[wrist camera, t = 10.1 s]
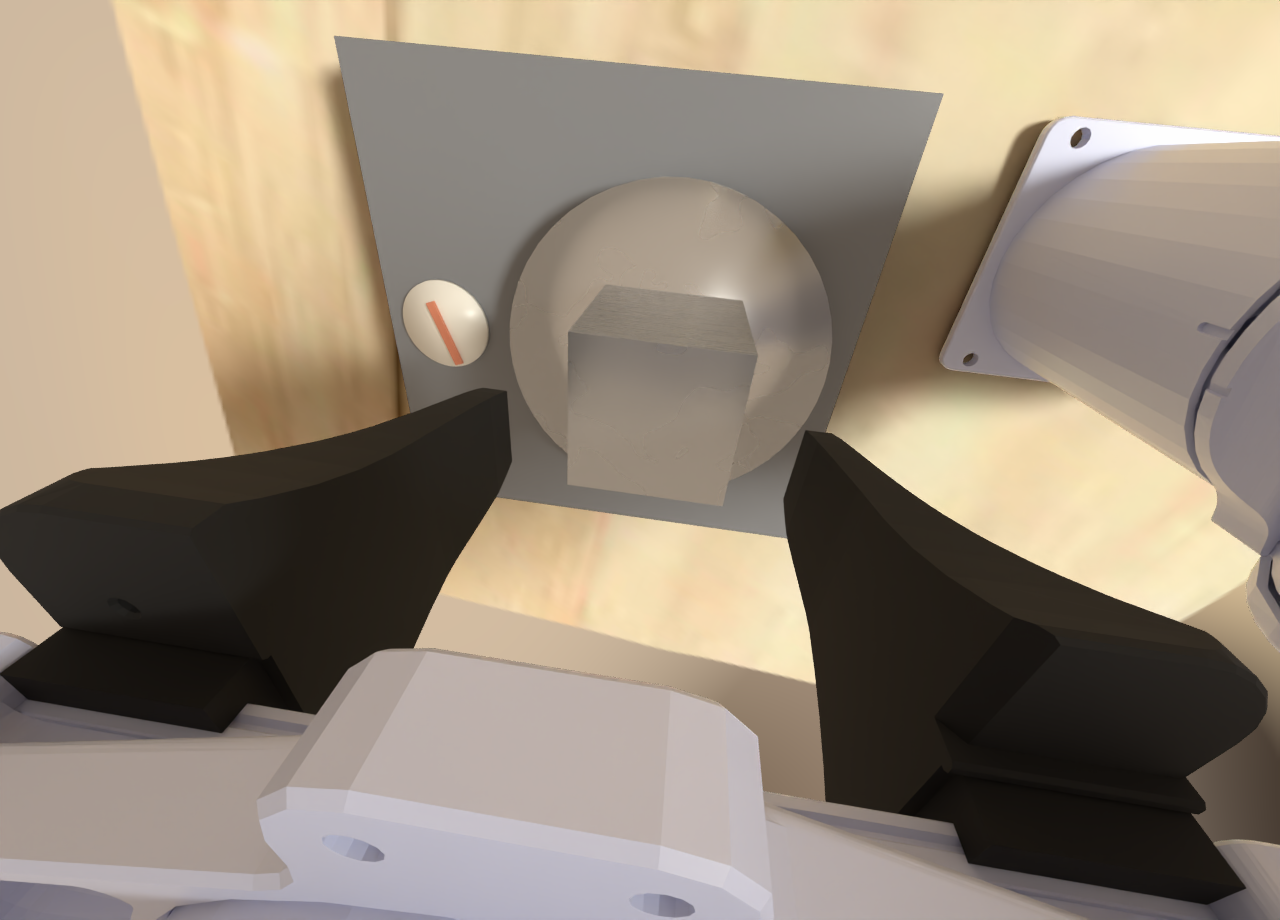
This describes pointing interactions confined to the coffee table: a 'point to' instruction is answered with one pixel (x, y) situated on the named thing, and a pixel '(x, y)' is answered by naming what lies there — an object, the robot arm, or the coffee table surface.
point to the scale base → (583, 167)
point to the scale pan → (681, 263)
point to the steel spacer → (658, 393)
